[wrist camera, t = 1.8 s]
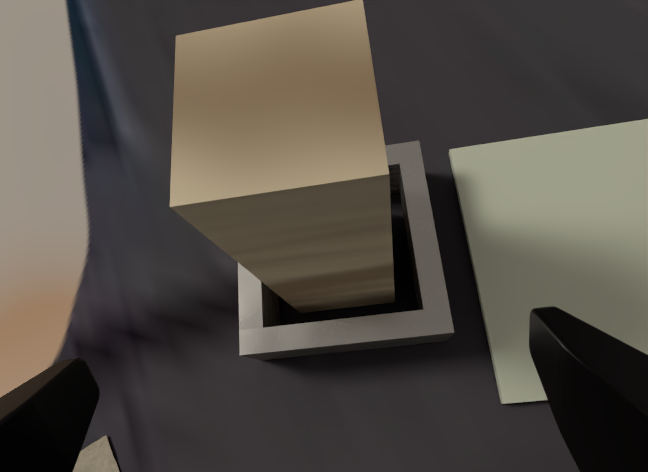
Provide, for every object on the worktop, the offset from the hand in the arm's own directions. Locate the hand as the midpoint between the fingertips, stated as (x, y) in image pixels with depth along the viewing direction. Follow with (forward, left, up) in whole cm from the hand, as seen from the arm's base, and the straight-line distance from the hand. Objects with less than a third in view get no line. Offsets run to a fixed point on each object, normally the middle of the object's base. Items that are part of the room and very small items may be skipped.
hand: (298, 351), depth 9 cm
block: (+5, 0, -12) cm, 13 cm away
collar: (+5, 0, -12) cm, 13 cm away
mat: (+4, -12, -12) cm, 17 cm away
